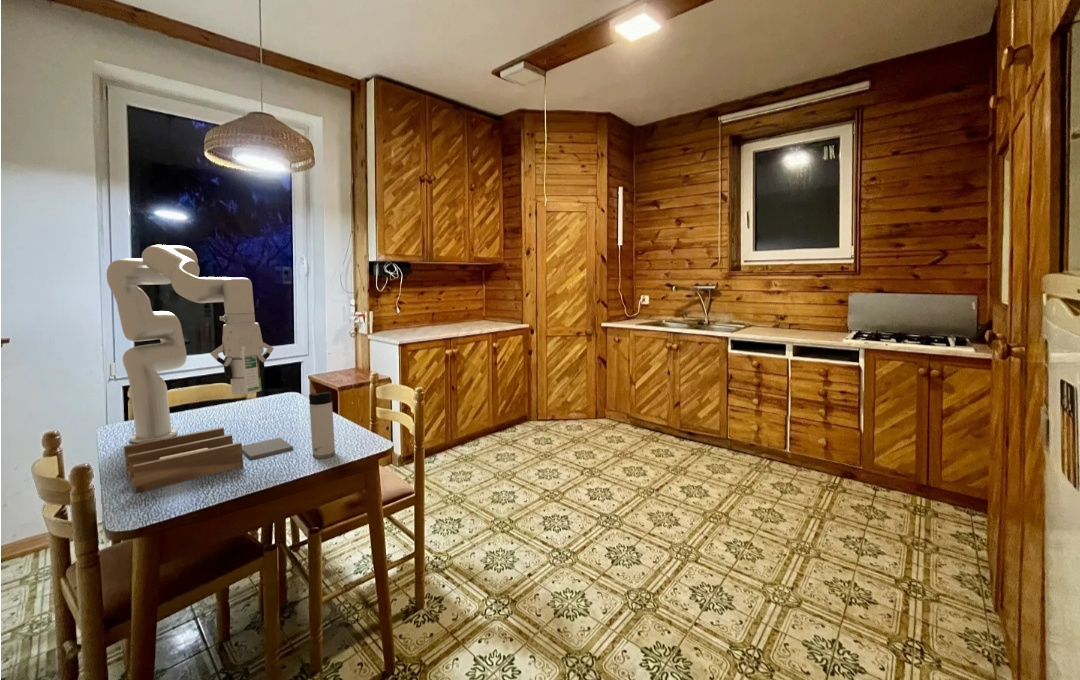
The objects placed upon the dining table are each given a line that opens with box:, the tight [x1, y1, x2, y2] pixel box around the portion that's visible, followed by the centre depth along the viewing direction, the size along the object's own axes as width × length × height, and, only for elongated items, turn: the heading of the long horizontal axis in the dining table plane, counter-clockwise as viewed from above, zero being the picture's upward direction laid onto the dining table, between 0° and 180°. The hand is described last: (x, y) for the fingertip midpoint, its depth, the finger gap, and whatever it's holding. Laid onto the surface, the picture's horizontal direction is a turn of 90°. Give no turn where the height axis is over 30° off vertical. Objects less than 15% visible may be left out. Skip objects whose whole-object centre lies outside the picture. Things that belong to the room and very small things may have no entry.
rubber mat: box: [242, 437, 294, 460], centre depth 154 cm, size 12×12×1 cm
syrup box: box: [229, 346, 263, 395], centre depth 148 cm, size 6×6×14 cm
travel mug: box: [308, 391, 336, 460], centre depth 148 cm, size 6×7×20 cm
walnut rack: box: [123, 426, 244, 493], centre depth 139 cm, size 21×24×7 cm
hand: (245, 376), depth 149 cm, fingers closed on syrup box, 7 cm apart
